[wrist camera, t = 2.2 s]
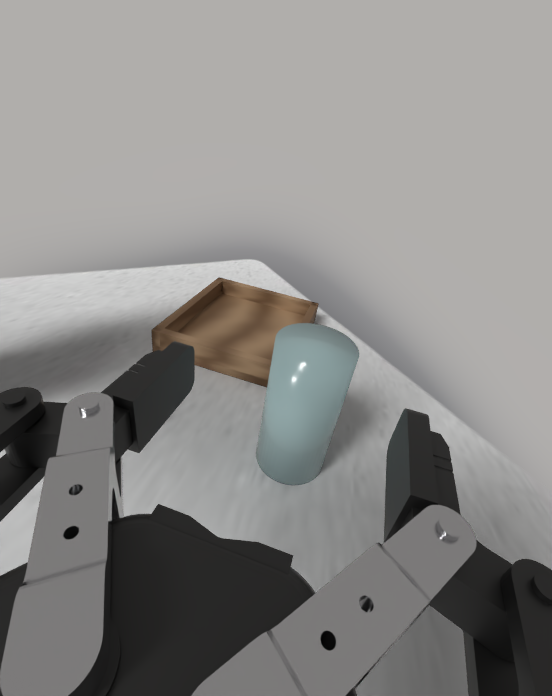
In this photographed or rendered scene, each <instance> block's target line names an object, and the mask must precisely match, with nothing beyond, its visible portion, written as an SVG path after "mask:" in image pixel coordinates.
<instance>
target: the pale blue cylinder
mask: <svg viewBox="0 0 552 696" xmlns="http://www.w3.org/2000/svg"><path fill="white" fill-rule="evenodd" d="M358 358H359V350H358V348H357V346H356V345H355V343H354V342H353V341H352V340H351V339H350V338H349V337H347V336H346V335H344V334H343V333H341V332H339V331H337V330H335V329H332V328H330V327H327V326H323V325H318V324H312V323H297V324H291V325H288V326H286V327H284V328H282V329H281V330H279V331H278V333H277V334H276V337H275V343H274V349H273V355H272V361H271V367H270V373H269V379H268V385H267V391H266V397H265V403H264V408H263V414H262V420H261V426H260V432H259V438H258V444H257V450H256V457H257V461H258V464H259V466H260V468H261V469H262V470H263V472H264V473H265V474H266V475H267V476H269V477H270V478H272V479H273V480H275V481H277V482H280V483H283V484H287V485H301V484H305V483H308V482H310V481H312V480H313V479H314V478H315V477H316V476H317V475H318V474H319V472H320V470H321V468H322V465H323V462H324V459H325V456H326V453H327V450H328V447H329V444H330V441H331V438H332V435H333V432H334V429H335V426H336V423H337V420H338V417H339V414H340V411H341V408H342V405H343V402H344V399H345V396H346V394H347V391H348V388H349V385H350V382H351V379H352V376H353V373H354V370H355V367H356V364H357V361H358Z"/></svg>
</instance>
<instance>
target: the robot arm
mask: <svg viewBox="0 0 552 696" xmlns="http://www.w3.org/2000/svg"><path fill="white" fill-rule="evenodd" d="M194 362H195V351H194V347H193V346H190V345H186V344H183V343H179V342H176V341H174V342H172V343H171V344H170V345H168V346H167V347H166V348H165V349H164V350H163V351H161V350H156V351H154V352H152V353H149V354H147V355H145V356H144V357H143V358H141V359H140V360H139V361H138V362H137V363H136V365H135V364H134V365H133V366H132V367H131V368H130V369H129V371H126V372H125V373H124V374H122V375H121V376H120V377H119V378H118V379H117V380H115V381H114V382H113V383H112V384H111V385H109V386H108V387H107V388H106V389H105V390H103V391H102V392H101V393H96V392H94V393H86V394H82V395H80V396H77V397H75V398H74V399H72V400H71V401H70V402H68V403H55V402H43V399H42V396H41V393H40V392H39V391H38V390H36V389H34V388H28V387H21V388H14V389H10V390H7V391H4V392H2V393H0V452H1V451H2V450H3V449H5V451H6V454H5V455H4V456H3V457H1V458H0V521H1V520H2V519H3V518H4V517H5V516H6V515H7V514H8V513H9V512H10V511H11V510H12V509H13V508H14V507H15V506H16V505H17V504H18V503H19V502H20V501H21V500H22V499H23V498H24V497H25V496H26V495H27V494H28V493H29V492H30V490H31V489H32V488H33V487H34V486H35V485H36V484H37V483H38V482H39V481H40V480H41V479H42V478H43V477H44V476H45V477H44V482H43V487H42V492H41V497H40V502H39V508H38V513H37V518H36V523H35V528H34V533H33V539H32V544H31V549H30V554H29V559H28V562H27V563H25V564H23V565H21V566H19V567H17V568H15V569H13V570H11V571H9V572H7V573H5V574H3V575H1V576H0V696H357V694H356V691H355V689H356V688H357V687H358V686H359V685H360V684H361V682H362V681H363V680H364V679H365V678H366V677H367V676H368V674H369V673H370V672H371V671H372V670H373V669H374V668H375V666H376V665H377V664H378V663H379V662H380V661H381V659H382V658H383V657H384V656H385V655H386V654H387V653H388V651H389V650H390V649H391V648H392V647H393V646H394V644H395V643H396V642H397V641H398V640H399V639H400V638H401V637H402V635H403V634H404V633H405V632H406V631H407V630H408V629H409V627H410V626H411V625H412V624H413V623H414V622H415V621H416V620H417V618H418V617H419V616H420V615H421V614H422V613H423V612H424V610H425V609H426V608H427V607H428V606H429V605H430V606H432V607H433V608H434V609H436V610H437V611H438V612H440V613H441V614H442V615H444V616H445V617H446V618H448V619H449V620H450V621H452V622H453V623H454V624H456V625H457V626H458V627H460V628H461V629H462V630H463V632H464V644H465V656H466V668H467V681H468V693H469V696H552V570H550V569H549V568H548V567H546V566H544V565H543V564H541V563H538V562H536V561H533V560H529V559H521V560H518V561H516V562H515V563H514V564H511V563H509V562H508V561H506V560H505V559H503V558H502V557H500V556H498V555H497V554H495V553H494V552H492V551H490V550H489V549H487V548H486V547H484V546H483V545H482V544H481V543H479V542H478V541H477V540H476V537H475V534H474V532H473V530H472V528H471V526H470V525H469V523H468V522H467V521H466V520H465V519H464V518H463V517H462V516H461V515H460V509H459V503H458V498H457V492H456V486H455V480H454V474H453V473H452V472H453V468H452V463H451V457H450V451H449V447H448V445H447V443H446V442H445V440H444V439H443V437H442V436H441V434H439V433H435V432H432V431H430V424H429V416H428V415H427V414H423V413H420V412H416V411H413V410H410V409H404V411H403V413H402V415H401V417H400V419H399V421H398V424H397V426H396V428H395V430H394V433H393V435H392V437H391V440H390V443H389V446H388V451H387V465H386V496H385V527H384V542H385V543H384V544H382V545H381V544H380V543H377V544H375V545H373V546H372V547H371V548H369V549H368V550H367V551H366V552H365V553H363V554H362V555H361V556H360V557H359V558H357V559H356V560H355V561H354V562H353V563H351V564H350V565H349V566H348V567H347V568H345V569H344V570H343V571H342V572H341V573H339V574H338V575H337V576H336V577H335V578H333V579H332V580H331V581H330V582H329V583H327V584H326V585H325V586H324V587H323V588H321V589H320V590H319V591H318V592H317V593H315V592H314V590H313V589H312V587H311V586H310V585H309V584H308V583H307V581H306V580H305V579H304V578H303V577H302V576H301V575H300V574H299V573H298V572H296V571H295V570H294V569H292V568H291V567H290V566H291V562H292V558H293V555H290V554H288V553H285V552H282V551H280V550H277V549H275V548H272V547H269V546H267V545H264V544H262V543H259V542H251V541H242V540H232V539H223V538H219V537H217V536H215V535H214V534H213V533H211V532H210V531H209V530H208V529H206V528H205V527H204V526H202V525H201V524H200V523H198V522H197V521H196V520H194V519H193V518H192V517H190V516H188V515H186V514H183V513H181V512H178V511H175V510H173V509H170V508H167V507H165V506H162V505H160V504H158V505H157V506H156V508H155V510H154V511H153V513H152V514H136V515H130V516H126V517H124V513H123V472H122V455H123V454H124V453H125V452H126V450H127V449H129V450H131V451H134V452H137V453H140V452H141V450H142V449H143V448H144V447H145V446H146V444H147V443H148V442H149V441H150V439H151V438H152V437H153V436H154V435H155V433H156V432H157V431H158V430H159V429H160V427H161V426H162V425H163V424H164V423H165V421H166V420H167V419H168V418H169V417H170V415H171V414H172V413H173V412H174V411H175V409H176V408H177V407H178V406H179V405H180V403H181V402H182V401H183V400H184V399H185V397H186V396H187V395H188V394H189V392H190V391H191V389H192V386H193V383H194Z"/></svg>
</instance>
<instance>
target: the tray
mask: <svg viewBox="0 0 552 696" xmlns="http://www.w3.org/2000/svg"><path fill="white" fill-rule="evenodd" d="M317 308H318V303H314V302H311V301H307V300H303V299H299V298H295V297H292V296H288V295H284V294H280V293H276V292H273V291H269V290H265V289H261V288H257V287H254V286H250V285H246V284H242V283H238V282H234V281H231V280H227V279H223V278H217V279H216V280H215V281H214V282H212V283H211V284H210V285H208V286H207V287H206V288H205V289H203V290H202V291H201V292H200V293H198V294H197V295H196V296H194V297H193V298H192V299H191V300H189V301H188V302H187V303H185V304H184V305H183V306H182V307H180V308H179V309H178V310H176V311H175V312H174V313H173V314H171V315H170V316H169V317H167V318H166V319H165V320H164V321H162V322H161V323H160V324H159V325H157V326H156V327H155V328H153V329H152V346H153V352H154V351H156V350H161V351H163V350H164V349H165V348H166V347H167V346H168V345H170V344H171V343H172V342H174V341H176V342H179V343H183V344H186V345H190V346H193V347H194V351H195V362H194V365H197V366H200V367H203V368H207V369H210V370H213V371H216V372H219V373H223V374H226V375H229V376H232V377H236V378H239V379H242V380H245V381H248V382H252V383H255V384H258V385H261V386H264V387H267V385H268V379H269V373H270V367H271V361H272V355H273V349H274V343H275V337H276V334H277V333H278V331H279V330H281V329H282V328H284V327H286V326H288V325H291V324H297V323H312V324H313V323H314V321H315V317H316V313H317Z"/></svg>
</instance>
